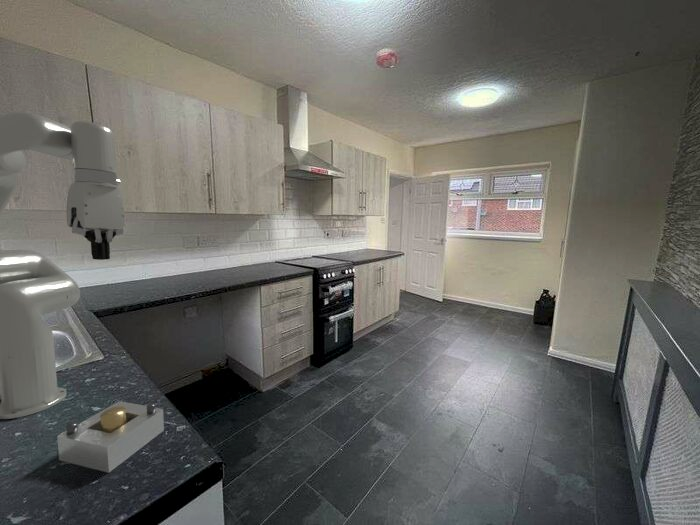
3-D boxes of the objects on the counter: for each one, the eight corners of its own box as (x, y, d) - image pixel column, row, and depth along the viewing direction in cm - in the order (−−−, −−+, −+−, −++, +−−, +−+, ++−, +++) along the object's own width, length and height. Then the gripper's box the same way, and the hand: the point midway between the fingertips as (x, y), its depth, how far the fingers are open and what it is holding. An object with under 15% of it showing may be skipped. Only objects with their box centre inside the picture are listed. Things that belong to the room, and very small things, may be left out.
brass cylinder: (98, 449, 59) (94, 417, 58) (117, 435, 63) (114, 405, 62) (114, 452, 58) (111, 419, 58) (132, 438, 62) (130, 407, 62)
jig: (59, 460, 56) (56, 427, 56) (120, 421, 68) (119, 394, 67) (108, 472, 54) (106, 439, 53) (164, 430, 65) (162, 402, 65)
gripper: (115, 185, 76) (119, 256, 78) (44, 174, 62) (51, 261, 63) (139, 185, 74) (142, 257, 76) (71, 173, 60) (78, 262, 62)
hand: (101, 259), depth 70 cm, fingers closed
